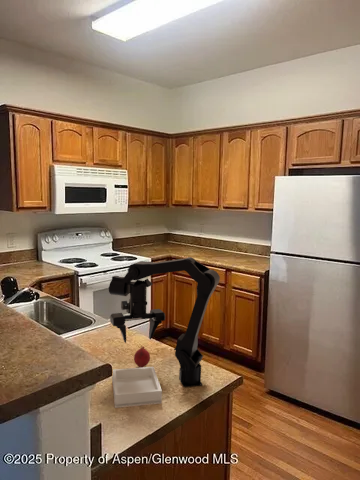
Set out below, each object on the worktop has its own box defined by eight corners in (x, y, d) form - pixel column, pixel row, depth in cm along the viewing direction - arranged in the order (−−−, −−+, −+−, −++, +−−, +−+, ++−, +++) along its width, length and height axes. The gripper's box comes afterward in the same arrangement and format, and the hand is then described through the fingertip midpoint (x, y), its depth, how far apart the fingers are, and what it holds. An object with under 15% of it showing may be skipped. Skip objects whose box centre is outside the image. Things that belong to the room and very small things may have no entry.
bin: (153, 377, 126) (153, 366, 126) (161, 403, 111) (161, 390, 110) (112, 380, 123) (112, 369, 122) (114, 407, 107) (115, 395, 107)
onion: (147, 372, 130) (147, 350, 129) (131, 370, 131) (132, 348, 130) (151, 364, 135) (152, 344, 134) (136, 363, 136) (137, 342, 135)
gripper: (155, 290, 138) (155, 329, 140) (106, 294, 131) (106, 335, 133) (166, 297, 128) (165, 340, 130) (113, 302, 121) (113, 347, 123)
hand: (137, 340), depth 129 cm, fingers open, 9 cm apart
